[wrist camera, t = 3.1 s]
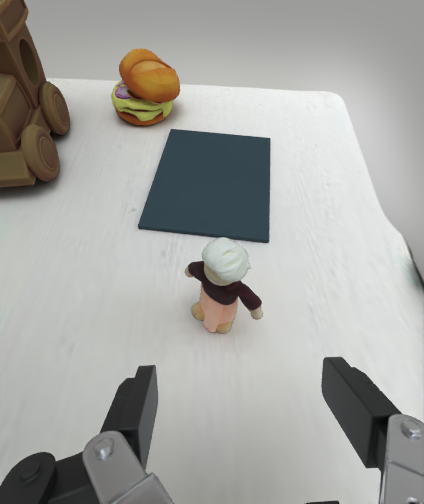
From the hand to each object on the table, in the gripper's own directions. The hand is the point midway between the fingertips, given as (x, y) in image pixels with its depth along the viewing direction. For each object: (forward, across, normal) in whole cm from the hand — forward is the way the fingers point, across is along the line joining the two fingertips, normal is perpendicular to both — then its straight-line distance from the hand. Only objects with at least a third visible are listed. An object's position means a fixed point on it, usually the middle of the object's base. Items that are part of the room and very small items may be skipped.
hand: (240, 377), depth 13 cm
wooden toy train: (+34, +27, -15) cm, 46 cm away
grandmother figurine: (+15, 0, +4) cm, 15 cm away
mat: (+29, 0, -10) cm, 31 cm away
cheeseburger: (+41, +10, -22) cm, 48 cm away
